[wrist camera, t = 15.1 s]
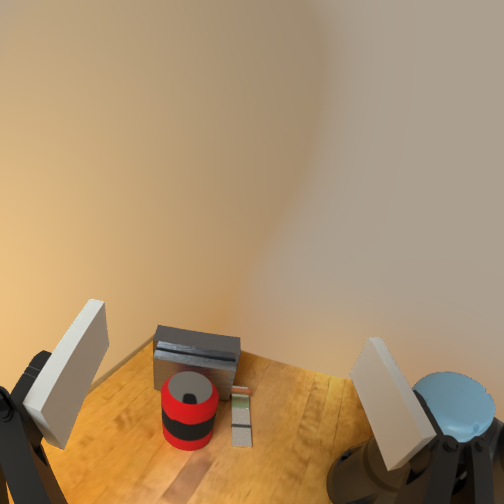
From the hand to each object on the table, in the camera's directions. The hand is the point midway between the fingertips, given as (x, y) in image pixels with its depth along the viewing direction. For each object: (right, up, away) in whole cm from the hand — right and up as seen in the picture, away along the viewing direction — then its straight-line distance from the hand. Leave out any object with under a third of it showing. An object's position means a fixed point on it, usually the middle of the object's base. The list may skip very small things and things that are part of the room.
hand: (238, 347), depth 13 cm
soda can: (-9, -24, +24) cm, 35 cm away
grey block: (-8, -19, +34) cm, 40 cm away
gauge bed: (-8, -21, +30) cm, 38 cm away
